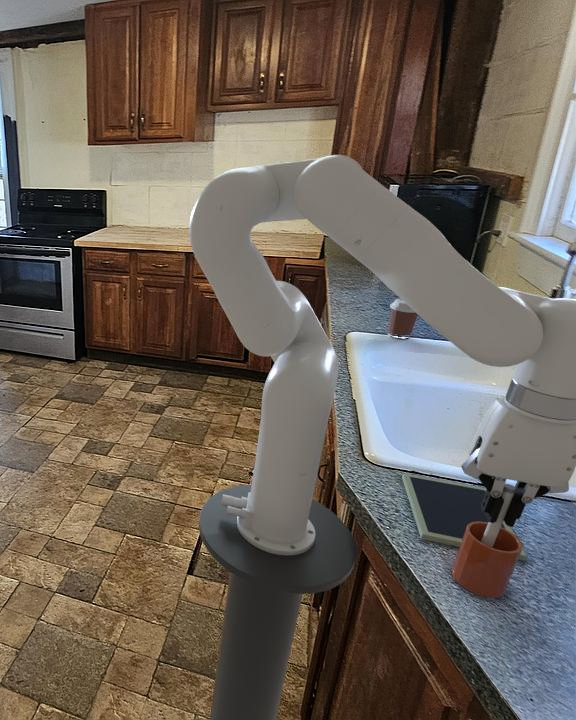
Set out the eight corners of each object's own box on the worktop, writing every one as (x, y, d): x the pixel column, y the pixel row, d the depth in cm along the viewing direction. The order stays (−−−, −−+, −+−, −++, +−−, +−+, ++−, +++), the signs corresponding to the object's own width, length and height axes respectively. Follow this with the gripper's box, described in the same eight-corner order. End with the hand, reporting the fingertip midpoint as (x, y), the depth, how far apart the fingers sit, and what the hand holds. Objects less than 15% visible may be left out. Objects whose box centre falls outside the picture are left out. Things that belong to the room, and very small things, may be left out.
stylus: (475, 563, 75) (505, 488, 70) (472, 557, 76) (501, 482, 71) (487, 566, 75) (517, 490, 70) (484, 559, 76) (514, 484, 71)
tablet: (420, 539, 84) (422, 533, 84) (401, 477, 100) (402, 472, 100) (524, 561, 80) (527, 555, 80) (487, 493, 96) (489, 488, 95)
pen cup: (458, 591, 75) (474, 546, 72) (446, 559, 80) (461, 517, 77) (511, 603, 73) (530, 558, 70) (496, 570, 78) (512, 527, 75)
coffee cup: (392, 340, 170) (401, 305, 166) (378, 331, 179) (385, 297, 174) (420, 341, 171) (429, 305, 166) (404, 331, 179) (413, 297, 174)
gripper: (606, 397, 66) (553, 515, 73) (463, 377, 71) (427, 490, 78) (640, 425, 60) (578, 551, 67) (480, 401, 64) (439, 521, 71)
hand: (497, 517), depth 72 cm, fingers closed on stylus, 1 cm apart
